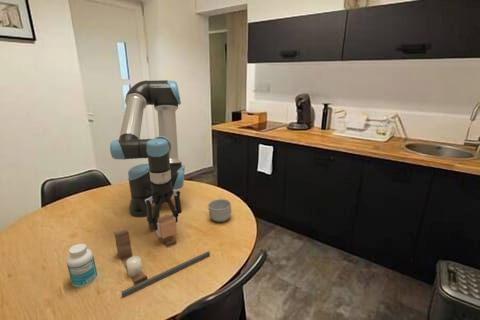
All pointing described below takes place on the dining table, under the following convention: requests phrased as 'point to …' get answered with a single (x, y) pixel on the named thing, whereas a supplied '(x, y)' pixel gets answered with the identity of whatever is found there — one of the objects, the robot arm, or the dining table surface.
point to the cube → (167, 226)
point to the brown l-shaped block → (166, 241)
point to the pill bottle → (81, 265)
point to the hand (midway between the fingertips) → (166, 232)
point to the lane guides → (164, 274)
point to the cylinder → (134, 266)
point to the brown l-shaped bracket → (126, 251)
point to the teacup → (219, 209)
